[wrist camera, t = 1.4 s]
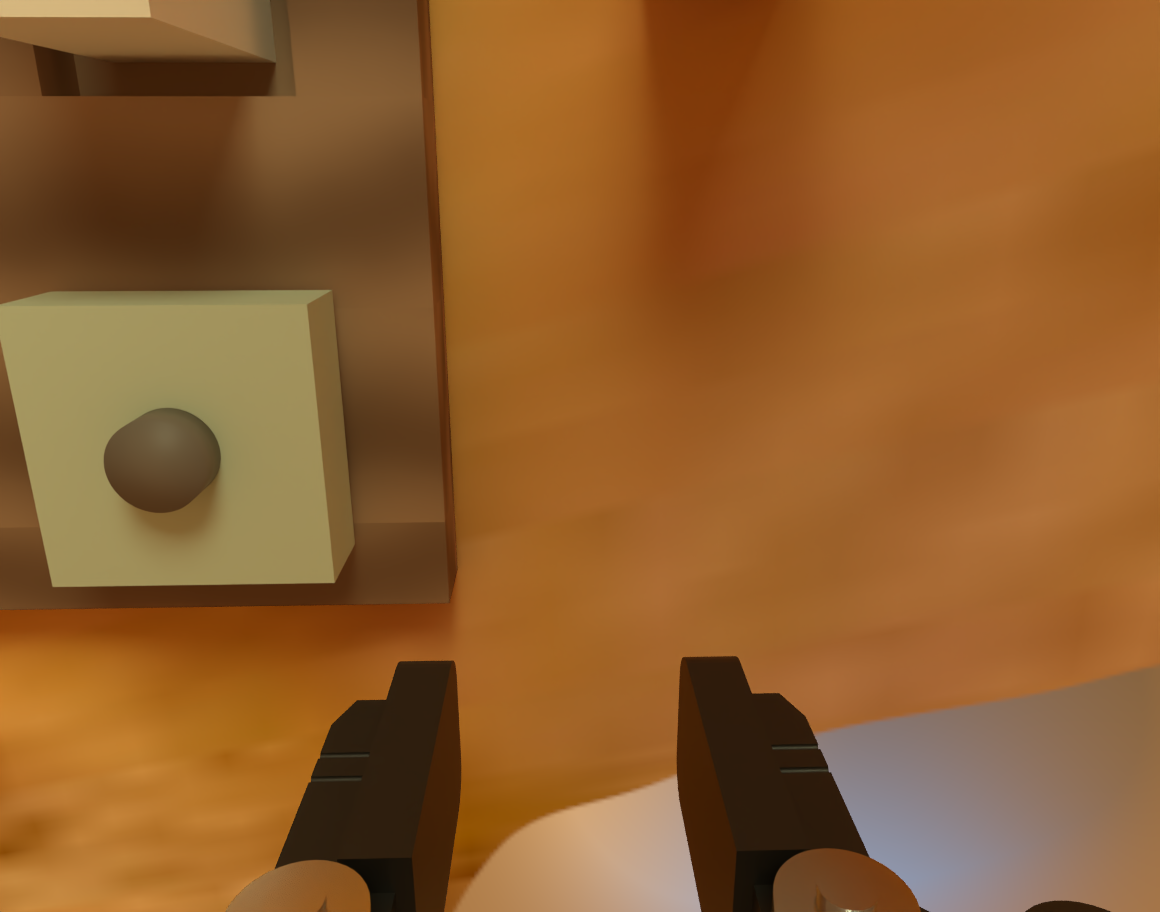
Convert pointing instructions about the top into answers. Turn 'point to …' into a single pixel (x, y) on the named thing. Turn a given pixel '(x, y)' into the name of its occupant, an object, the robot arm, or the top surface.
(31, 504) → the puzzle board
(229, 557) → the lid
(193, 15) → the cream block
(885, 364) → the top surface
